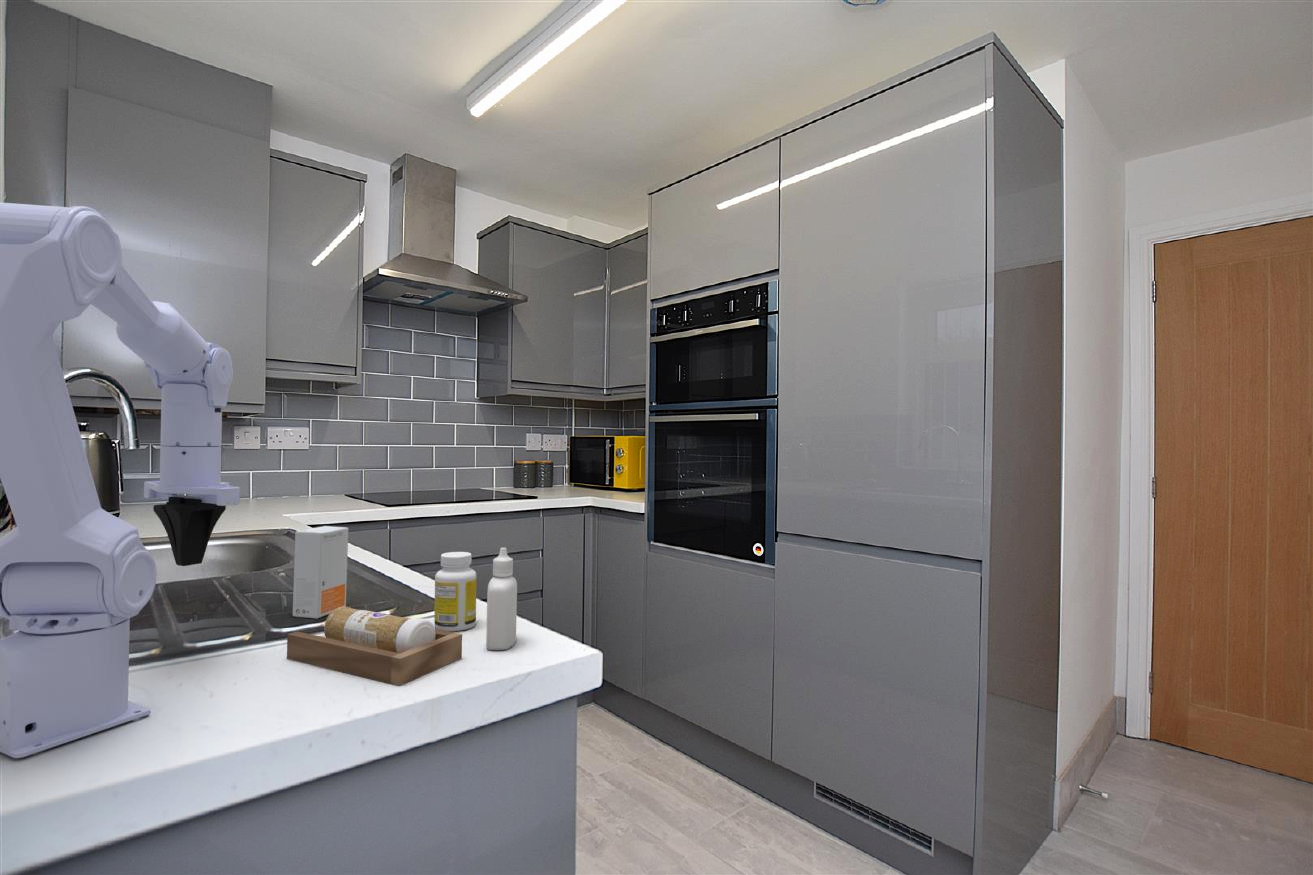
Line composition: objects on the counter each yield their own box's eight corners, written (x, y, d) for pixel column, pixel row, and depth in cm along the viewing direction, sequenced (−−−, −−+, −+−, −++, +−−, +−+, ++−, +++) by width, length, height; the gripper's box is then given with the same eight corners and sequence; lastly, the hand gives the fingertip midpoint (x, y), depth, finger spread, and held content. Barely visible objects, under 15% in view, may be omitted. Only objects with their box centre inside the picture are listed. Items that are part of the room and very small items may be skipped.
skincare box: (318, 619, 90) (320, 532, 90) (291, 617, 91) (293, 531, 91) (347, 608, 96) (349, 526, 96) (322, 606, 97) (324, 525, 97)
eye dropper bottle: (471, 647, 80) (474, 549, 80) (503, 635, 85) (505, 543, 85) (499, 653, 78) (501, 553, 78) (529, 640, 83) (531, 546, 83)
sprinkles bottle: (350, 599, 81) (434, 612, 76) (356, 633, 82) (440, 648, 76) (318, 616, 77) (405, 631, 71) (325, 651, 78) (411, 668, 72)
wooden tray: (399, 685, 67) (400, 658, 67) (286, 658, 74) (287, 634, 74) (461, 658, 76) (462, 634, 76) (355, 636, 83) (355, 614, 83)
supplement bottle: (469, 618, 92) (471, 549, 92) (480, 629, 87) (482, 556, 87) (430, 623, 89) (431, 552, 89) (439, 634, 84) (440, 559, 84)
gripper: (266, 447, 76) (264, 564, 76) (189, 444, 82) (187, 552, 82) (203, 448, 69) (200, 576, 69) (124, 444, 75) (122, 562, 75)
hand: (189, 564), depth 75 cm, fingers closed
